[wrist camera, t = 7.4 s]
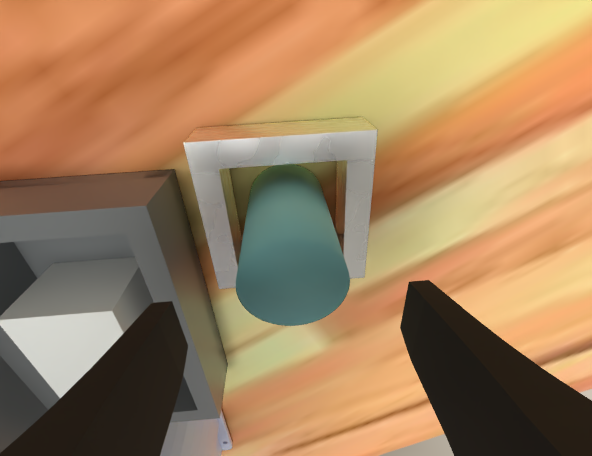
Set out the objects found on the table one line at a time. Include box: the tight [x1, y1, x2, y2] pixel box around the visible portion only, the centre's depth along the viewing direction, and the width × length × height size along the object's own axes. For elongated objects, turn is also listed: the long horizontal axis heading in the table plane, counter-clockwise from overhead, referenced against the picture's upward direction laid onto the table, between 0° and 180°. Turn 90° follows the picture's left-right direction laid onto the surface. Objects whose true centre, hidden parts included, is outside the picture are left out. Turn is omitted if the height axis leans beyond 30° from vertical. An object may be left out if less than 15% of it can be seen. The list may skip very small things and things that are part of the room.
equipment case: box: [0, 169, 228, 453], centre depth 13 cm, size 16×11×14 cm
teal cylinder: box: [236, 164, 350, 326], centre depth 14 cm, size 4×4×7 cm
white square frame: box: [183, 117, 378, 289], centre depth 15 cm, size 8×8×2 cm
